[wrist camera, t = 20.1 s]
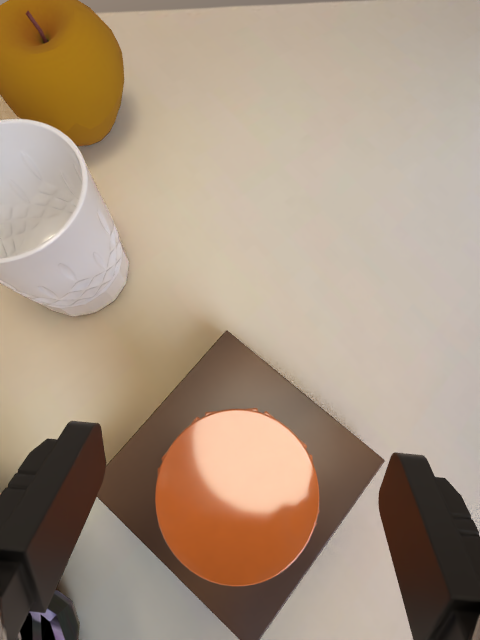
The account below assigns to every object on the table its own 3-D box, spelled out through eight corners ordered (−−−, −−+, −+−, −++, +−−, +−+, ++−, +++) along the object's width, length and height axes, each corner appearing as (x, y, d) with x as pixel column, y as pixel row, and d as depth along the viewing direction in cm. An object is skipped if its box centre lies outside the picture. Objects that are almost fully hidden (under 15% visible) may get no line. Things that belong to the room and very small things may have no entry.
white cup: (13, 244, 29) (-98, 148, 19) (117, 207, 30) (61, 98, 20) (42, 342, 27) (-66, 289, 17) (153, 299, 28) (108, 226, 18)
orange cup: (314, 467, 23) (352, 482, 15) (244, 561, 22) (247, 629, 14) (231, 396, 24) (228, 376, 16) (160, 481, 23) (120, 502, 15)
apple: (135, 76, 33) (100, -47, 25) (145, 161, 31) (110, 57, 23) (31, 89, 33) (-41, -31, 25) (33, 177, 31) (-45, 77, 22)
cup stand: (374, 458, 25) (434, 467, 17) (250, 633, 22) (256, 735, 15) (227, 337, 27) (223, 297, 19) (99, 483, 24) (34, 504, 17)
